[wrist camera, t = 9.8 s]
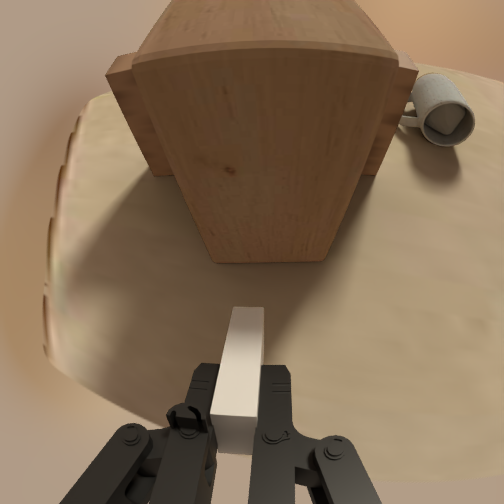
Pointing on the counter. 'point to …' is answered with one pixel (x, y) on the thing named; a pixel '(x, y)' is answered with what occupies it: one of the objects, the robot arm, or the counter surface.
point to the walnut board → (155, 155)
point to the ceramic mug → (440, 111)
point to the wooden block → (266, 117)
